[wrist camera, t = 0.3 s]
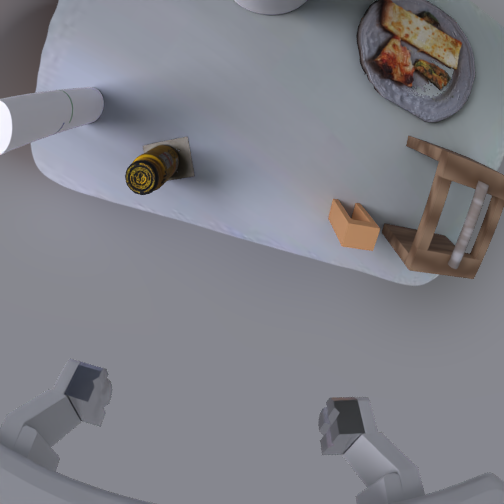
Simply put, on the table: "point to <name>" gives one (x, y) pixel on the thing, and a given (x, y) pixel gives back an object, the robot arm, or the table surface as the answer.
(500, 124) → the table surface
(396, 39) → the food plate
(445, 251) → the wooden slider frame
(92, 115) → the cylindrical container
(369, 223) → the orange forked block
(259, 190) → the table surface
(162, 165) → the condiment
